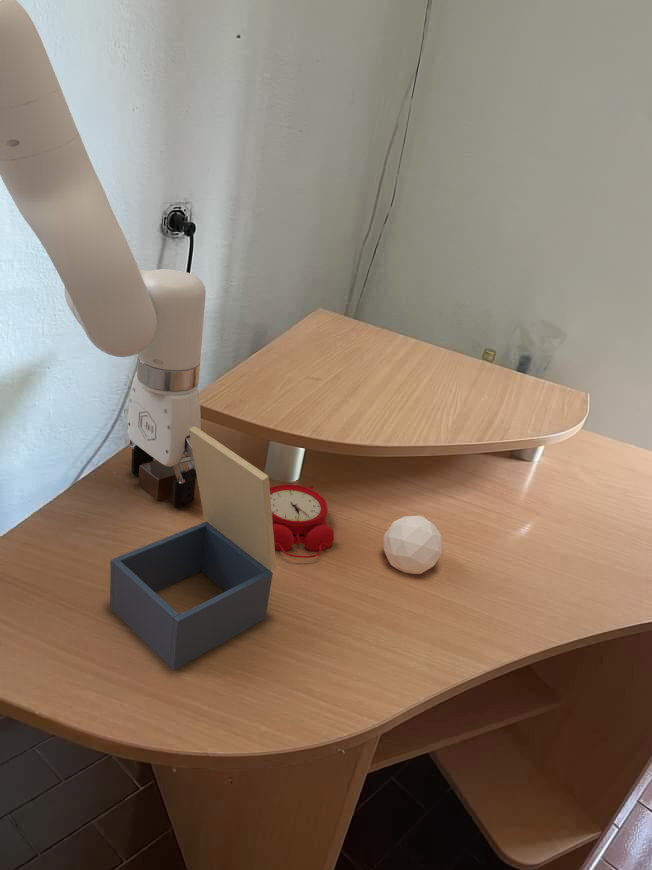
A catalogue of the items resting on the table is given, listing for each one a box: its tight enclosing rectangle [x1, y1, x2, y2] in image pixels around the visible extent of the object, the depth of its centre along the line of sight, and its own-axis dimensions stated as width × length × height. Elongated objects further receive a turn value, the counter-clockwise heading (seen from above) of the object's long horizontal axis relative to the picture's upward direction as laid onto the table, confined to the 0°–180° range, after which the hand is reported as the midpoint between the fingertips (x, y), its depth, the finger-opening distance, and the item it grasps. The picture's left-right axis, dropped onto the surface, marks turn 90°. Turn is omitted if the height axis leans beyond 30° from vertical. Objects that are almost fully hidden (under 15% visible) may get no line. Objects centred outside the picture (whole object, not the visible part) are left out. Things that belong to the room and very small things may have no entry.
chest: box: [109, 520, 274, 671], centre depth 75 cm, size 12×11×8 cm
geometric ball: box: [383, 515, 443, 575], centre depth 92 cm, size 8×8×8 cm
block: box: [138, 459, 187, 502], centre depth 96 cm, size 4×4×4 cm
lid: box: [189, 426, 277, 572], centre depth 73 cm, size 13×11×1 cm
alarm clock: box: [270, 484, 335, 559], centre depth 94 cm, size 10×6×15 cm
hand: (162, 486), depth 96 cm, fingers open, 8 cm apart
